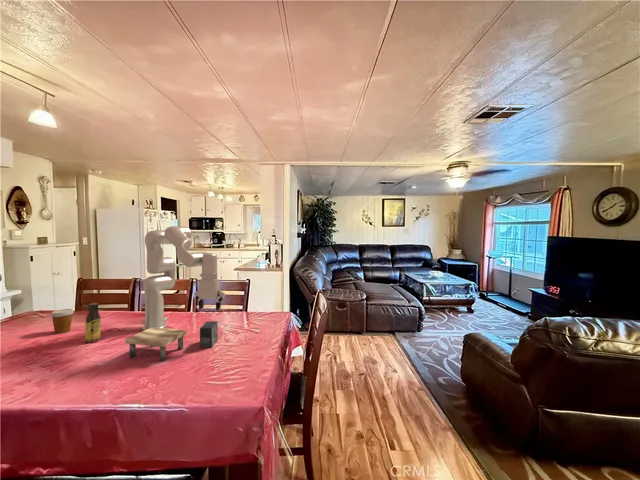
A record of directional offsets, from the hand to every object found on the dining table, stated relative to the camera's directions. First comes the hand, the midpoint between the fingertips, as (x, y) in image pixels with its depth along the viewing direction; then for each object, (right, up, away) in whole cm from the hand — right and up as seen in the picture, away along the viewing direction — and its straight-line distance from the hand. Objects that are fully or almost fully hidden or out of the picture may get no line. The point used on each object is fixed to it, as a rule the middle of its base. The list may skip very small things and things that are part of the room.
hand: (209, 309), depth 143 cm
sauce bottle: (-62, -18, +1) cm, 65 cm away
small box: (-1, -19, +1) cm, 19 cm away
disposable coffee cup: (-90, -17, +13) cm, 92 cm away
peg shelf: (-21, -18, -11) cm, 30 cm away
